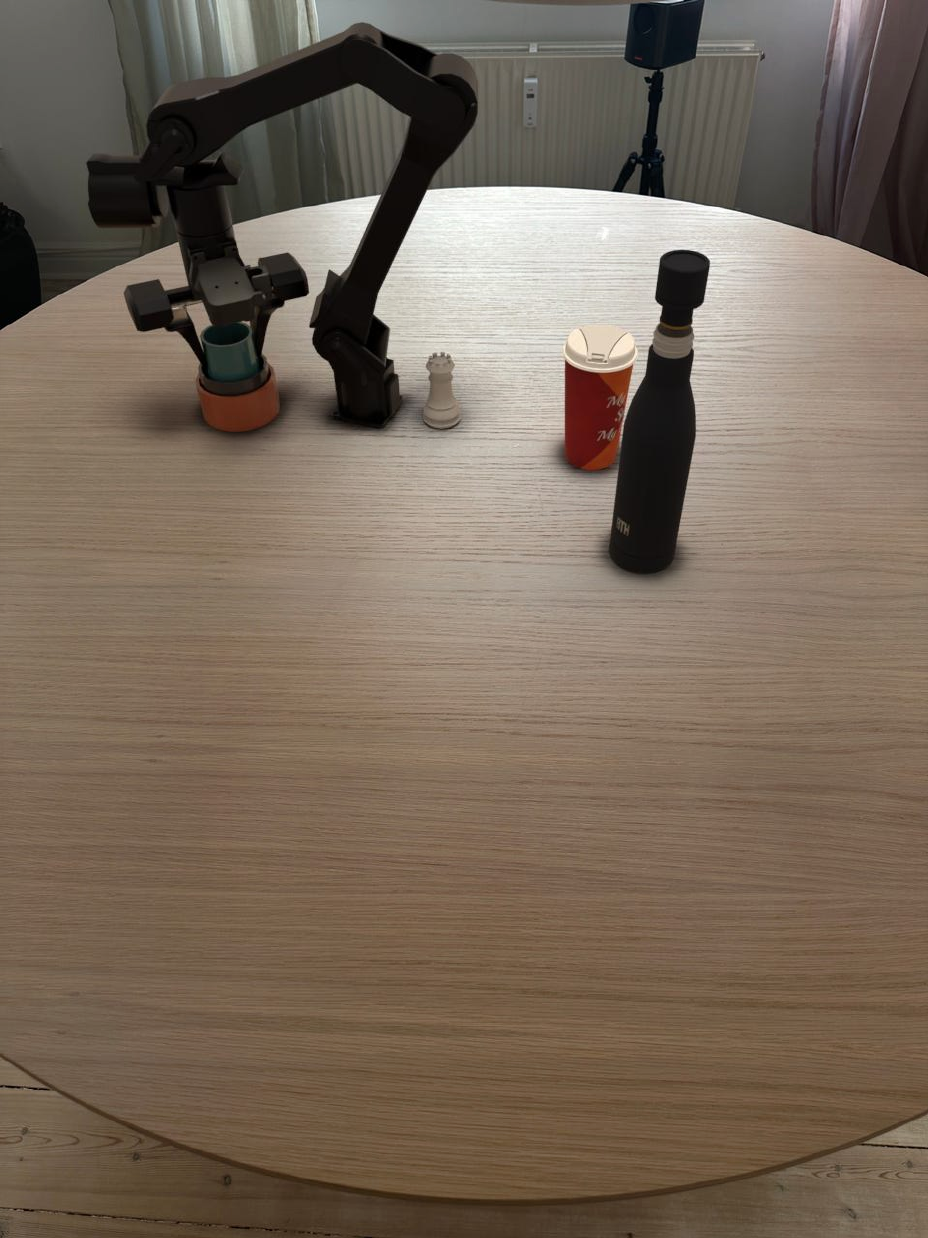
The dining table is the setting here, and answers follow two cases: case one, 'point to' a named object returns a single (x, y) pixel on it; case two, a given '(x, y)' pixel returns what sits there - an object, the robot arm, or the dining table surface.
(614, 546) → the black insulated water bottle
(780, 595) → the dining table surface
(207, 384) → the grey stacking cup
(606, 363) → the paper cup
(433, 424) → the rook chess piece
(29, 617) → the dining table surface
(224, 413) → the stack base cup
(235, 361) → the teal cup
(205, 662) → the dining table surface
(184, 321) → the robot arm
